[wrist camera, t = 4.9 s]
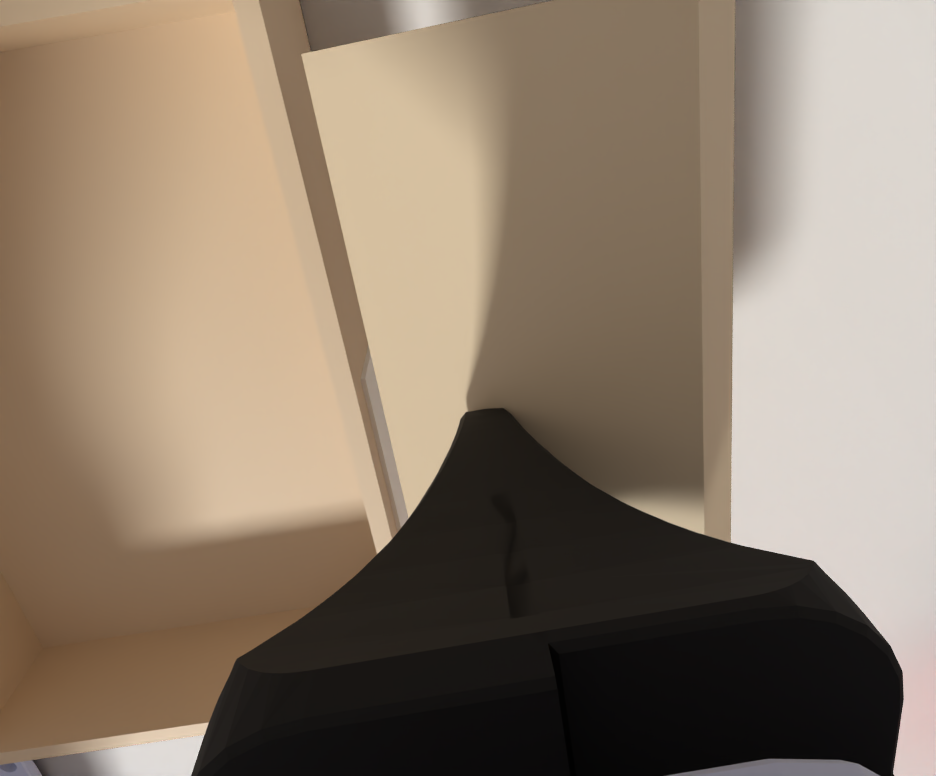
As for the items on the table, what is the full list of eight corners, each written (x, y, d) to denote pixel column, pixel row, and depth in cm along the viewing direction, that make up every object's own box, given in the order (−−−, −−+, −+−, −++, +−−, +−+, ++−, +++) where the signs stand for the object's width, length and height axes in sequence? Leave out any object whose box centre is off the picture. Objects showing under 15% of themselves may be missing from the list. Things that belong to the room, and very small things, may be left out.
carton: (435, 590, 21) (436, 700, 17) (42, 649, 21) (-39, 770, 18) (299, -21, 14) (252, -50, 10) (-276, 79, 14) (-515, 86, 11)
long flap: (446, 682, 16) (473, 652, 16) (707, 826, 12) (728, 780, 13) (301, 54, 10) (350, 47, 11) (698, -32, 7) (736, -34, 7)
